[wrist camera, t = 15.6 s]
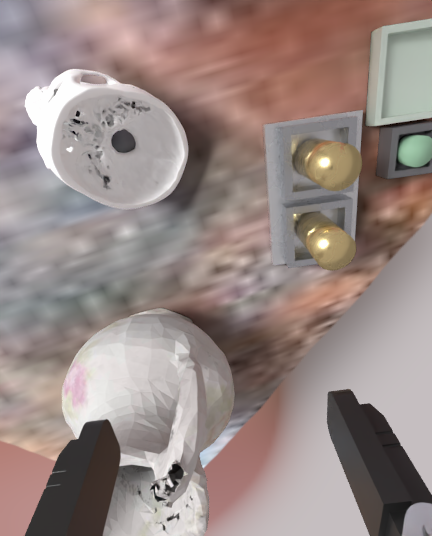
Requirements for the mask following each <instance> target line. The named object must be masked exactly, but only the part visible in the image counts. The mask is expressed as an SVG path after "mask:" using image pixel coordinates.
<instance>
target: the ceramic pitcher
mask: <svg viewBox="0 0 432 536" xmlns="http://www.w3.org/2000/svg"><path fill="white" fill-rule="evenodd" d="M234 397H235V392H234V384H233V377H232V373H231V369H230V366H229V364H228V361H227V359H226V357H225V355H224V353H223V352H222V351H221V350H220V348H219V347H218V346H217V345H216V344H215V343H214V341H213V340H212V339H211V338H210V337H209V336H208V335H207V334H206V333H205V332H204V331H203V330H201V329H200V328H199V327H197V326H196V325H194V324H193V323H192V321H191V319H190V318H187V317H185V316H183V315H180V314H178V313H175V312H172V311H170V310H167V309H164V308H158V309H153V310H148V311H145V312H141V313H138V314H134V315H130V317H129V318H125V319H121V320H118V321H116V322H114V323H112V324H110V325H109V326H107V327H106V328H104V329H102V330H101V331H99V332H98V333H96V334H95V335H94V336H92V337H91V338H90V339H89V340H88V341H87V342H86V343H85V345H84V346H83V347H82V348H81V349H80V351H79V352H78V353H77V354H76V356H75V358H74V360H73V362H72V364H71V366H70V368H69V370H68V373H67V376H66V379H65V381H64V384H63V387H62V410H63V414H64V417H65V420H66V422H67V424H68V425H69V426H70V427H71V429H72V431H73V433H74V435H75V436H76V438H79V436H80V433H81V430H82V428H83V426H84V424H85V423H86V422H89V421H97V420H104V419H108V420H109V421H110V423H111V426H112V428H113V430H114V433H115V435H116V438H117V440H118V443H119V445H120V450H121V459H120V465H119V469H118V474H117V478H116V482H115V486H114V490H113V494H112V498H111V503H110V507H109V511H108V515H107V519H106V523H105V527H104V532H103V536H204V534H205V532H206V530H207V526H208V518H209V495H208V491H207V483H206V481H207V479H206V475H205V471H204V470H203V467H202V465H201V461H200V457H199V455H200V452H202V451H203V450H204V449H206V448H207V447H209V446H210V445H211V444H213V443H214V442H215V440H216V439H217V438H218V437H219V435H220V434H221V433H222V432H223V430H224V429H225V427H226V426H227V424H228V422H229V420H230V417H231V413H232V410H233V407H234Z"/></svg>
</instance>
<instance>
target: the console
mask: <svg viewBox="0 0 432 536" xmlns="http://www.w3.org/2000/svg"><path fill="white" fill-rule="evenodd" d="M407 135H423V136H429V137H431V138H432V121H421V122H414V123H407V124H401V125H394V126H387V127H380V133H379V144H378V156H377V168H376V175H377V176H380V177H383V178H386V179H392V178H399V177H406V176H413V175H420V174H427V173H432V158H431V160H430V161H429V162H428V163H426V164H425V165H423V166H421V167H411V166H406V165H402V164H399V163H398V162H397V161H396V157H397V148H398V142H399V141H400V140H401V139H402V138H403V137H405V136H407Z"/></svg>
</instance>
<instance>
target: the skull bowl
mask: <svg viewBox="0 0 432 536" xmlns="http://www.w3.org/2000/svg"><path fill="white" fill-rule="evenodd" d="M83 75H94V76H101V77H104V78H105V79H106V82H107V84H91V83H85V82H81V78H82V77H83ZM129 102H130V103H129ZM132 102H133V103H134V102H135V104H136V105H135V104H132ZM25 107H26V110H27V112H28V115H29V117H30V118H31V119H32V122H33V124H35V125H36V126H37V146H38V150H39V152H40V154H41V156H42V158H43V159H44V162H45V165H46V167H47V168H48V169H50V170H52V171H53V172H54V173H55V174H56V175H57V176H58V177H59V178H60V179H61V180H62V181H63V182H64V183H66V184H67V185H68V186H70V187H71V188H73V189H75V190H76V191H78V192H81V193H83V194H84V195H86V196H88V197H90V198H92V199H93V200H95V201H97V202H99V203H102V204H104V205H107V206H110V207H113V208H117V209H137V208H141V207H145V206H149V205H152V204H155V203H157V202H159V201H161V200H162V199H164V198H166V197H167V196H168V195H170V194H171V193H172V192H173V190H174V189H175V188H176V186H177V185H178V183H179V181H180V179H181V177H182V174H183V171H184V169H185V166H186V162H187V158H188V142H187V138H186V134H185V131H184V129H183V127H182V125H181V123H180V121H179V120H178V118H177V117H176V115H175V114H174V113H173V111H172V110H171V109H170V108H169V107H168V106H167V105H166V104H165V103H163V102H162V101H160V100H159V99H158V98H156V97H154V96H153V95H151V94H149V93H148V92H146V91H144V90H142V89H140V88H138V87H136V86H133V85H129V84H121V83H119V82H118V81H117V80H115V79H114V78H112V77H110V76H108V75H106V74H102V73H99V72H96V71H90V70H80V69H71V70H67V71H65V72H63V73H62V74H60V75H59V76H57V77H56V78H55V79H54V80H53V81H52V83H51V86H49V87H43V88H41V87H39V86H37V87H35V88H34V89H32V90H31V91H30V93H28V95H27V97H26V101H25ZM132 107H135V108H134V109H133V108H132ZM103 110H104V112H103ZM76 111H79V112H80V116H79V117H76ZM73 119H77V120H79V121H80V124H82V123H81V121H84V122H85V124H83V125H80V124H77V123H75V124H76V125H75V124H72V123H74V122H73ZM103 121H104V124H103ZM84 122H83V123H84ZM86 122H88V124H86ZM107 122H110V124H109V125H108V124H107ZM69 124H70V125H72V126H73V127H71V126H69ZM123 129H125V130H127V131H128V132H130V133H131V134H132V135H133V137H134V140H135V143H136V145H135V149H133V150H132V151H130V152H126V153H122V152H117V151H116V150H115V149H114V148H113V146H112V143H111V139H112V136H113V135H114V134H115V133H116V132H117V131H121V130H123ZM70 131H75V133H76V134H77V133H78V132H79V134H78V137H77V136H76V135H75V134H73V133H72V132H70ZM95 146H99V147H95ZM88 154H90V156H91V158H90V159H89V156H88ZM103 186H104V187H105V188H104V187H103Z"/></svg>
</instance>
